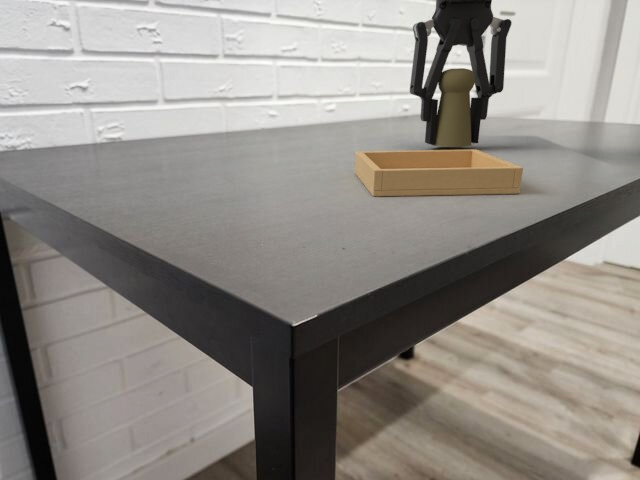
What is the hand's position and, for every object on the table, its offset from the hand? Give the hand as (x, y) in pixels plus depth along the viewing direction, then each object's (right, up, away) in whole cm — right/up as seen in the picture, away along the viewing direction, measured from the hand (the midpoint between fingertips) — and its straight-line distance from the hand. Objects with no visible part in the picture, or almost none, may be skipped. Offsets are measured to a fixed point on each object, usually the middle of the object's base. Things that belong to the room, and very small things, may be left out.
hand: (451, 142), depth 80 cm
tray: (-10, -10, -23) cm, 27 cm away
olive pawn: (0, -1, 0) cm, 0 cm away
